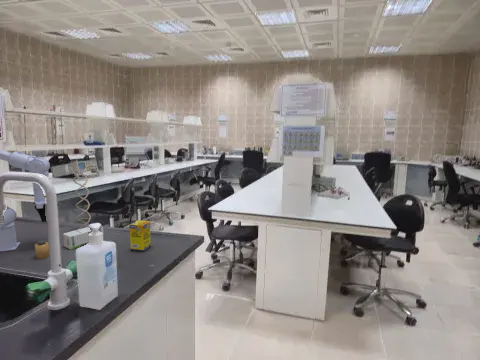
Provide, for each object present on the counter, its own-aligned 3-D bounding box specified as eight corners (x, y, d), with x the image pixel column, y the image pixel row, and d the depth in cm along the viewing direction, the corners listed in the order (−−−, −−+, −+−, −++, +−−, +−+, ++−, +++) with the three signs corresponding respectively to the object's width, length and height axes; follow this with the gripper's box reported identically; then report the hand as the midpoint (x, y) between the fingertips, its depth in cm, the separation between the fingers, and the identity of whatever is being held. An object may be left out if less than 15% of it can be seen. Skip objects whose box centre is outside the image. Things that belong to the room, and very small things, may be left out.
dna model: (75, 233, 143) (69, 168, 138) (78, 229, 149) (73, 166, 144) (91, 232, 145) (86, 168, 139) (93, 228, 151) (89, 166, 146)
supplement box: (144, 252, 123) (142, 225, 121) (130, 250, 124) (128, 224, 122) (151, 246, 129) (150, 221, 127) (138, 245, 130) (136, 219, 128)
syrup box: (69, 236, 123) (104, 227, 135) (62, 233, 127) (96, 224, 138) (70, 250, 124) (104, 239, 136) (63, 246, 128) (97, 236, 139)
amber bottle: (35, 259, 116) (33, 244, 114) (37, 255, 119) (35, 240, 118) (48, 257, 117) (47, 242, 116) (50, 253, 121) (49, 238, 120)
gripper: (50, 191, 120) (53, 225, 122) (56, 184, 133) (59, 215, 135) (28, 192, 117) (32, 227, 119) (36, 185, 130) (40, 217, 133)
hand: (45, 221), depth 127 cm, fingers closed
